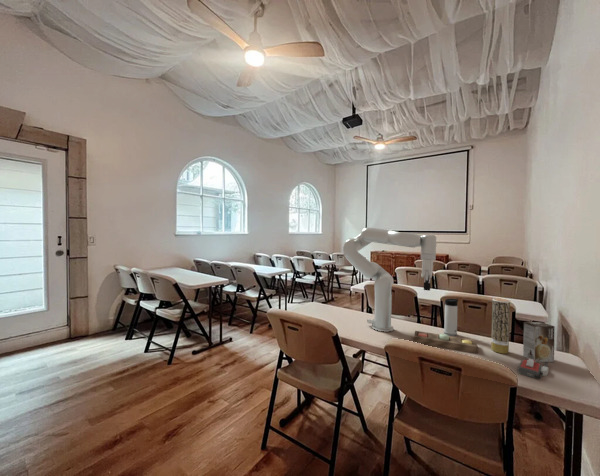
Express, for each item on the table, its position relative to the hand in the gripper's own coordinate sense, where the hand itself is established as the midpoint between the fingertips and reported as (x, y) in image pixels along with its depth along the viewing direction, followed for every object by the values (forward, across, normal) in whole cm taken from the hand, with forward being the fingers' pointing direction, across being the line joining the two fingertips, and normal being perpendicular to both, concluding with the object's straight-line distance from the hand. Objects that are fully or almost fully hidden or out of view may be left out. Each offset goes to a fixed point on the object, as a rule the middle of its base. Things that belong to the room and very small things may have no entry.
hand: (426, 290), depth 152 cm
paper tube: (+25, +5, +33) cm, 42 cm away
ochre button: (+25, +8, +19) cm, 33 cm away
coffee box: (+25, +6, +47) cm, 54 cm away
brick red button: (+25, +9, -1) cm, 27 cm away
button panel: (+25, +9, +9) cm, 28 cm away
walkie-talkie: (+26, +20, +43) cm, 54 cm away
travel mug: (+25, -9, +13) cm, 30 cm away
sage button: (+24, +9, +9) cm, 27 cm away
